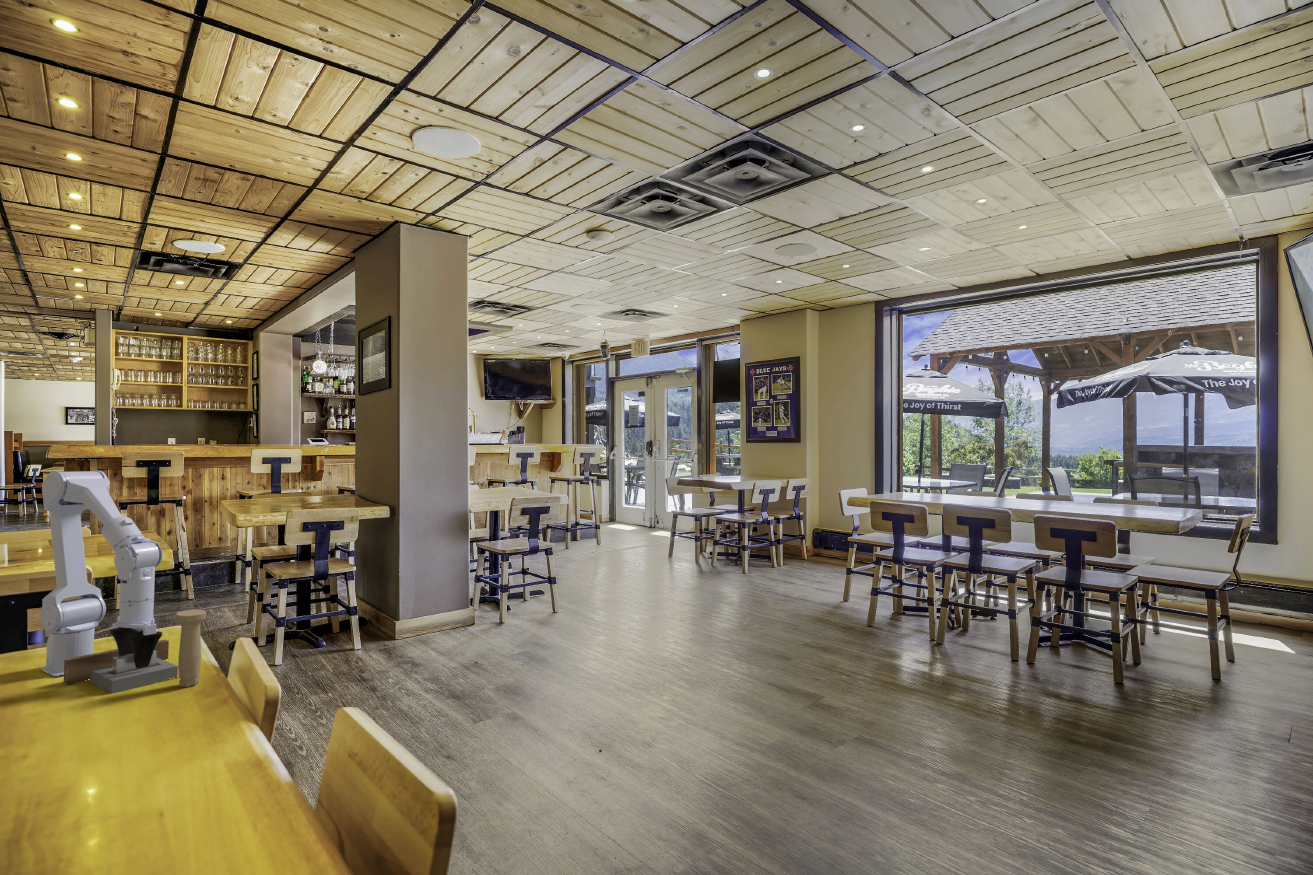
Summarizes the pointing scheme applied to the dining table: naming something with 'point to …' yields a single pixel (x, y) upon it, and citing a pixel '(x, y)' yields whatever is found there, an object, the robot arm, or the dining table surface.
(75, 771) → the dining table surface
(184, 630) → the handle
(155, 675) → the slotted grey plate
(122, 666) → the white wooden block
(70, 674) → the brown long flat block
